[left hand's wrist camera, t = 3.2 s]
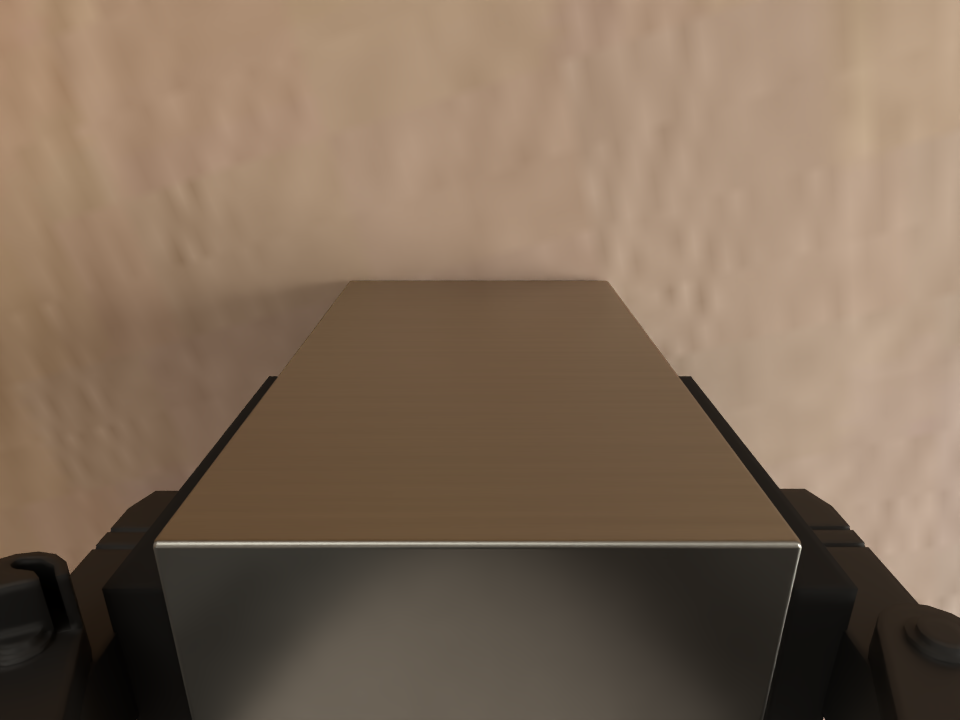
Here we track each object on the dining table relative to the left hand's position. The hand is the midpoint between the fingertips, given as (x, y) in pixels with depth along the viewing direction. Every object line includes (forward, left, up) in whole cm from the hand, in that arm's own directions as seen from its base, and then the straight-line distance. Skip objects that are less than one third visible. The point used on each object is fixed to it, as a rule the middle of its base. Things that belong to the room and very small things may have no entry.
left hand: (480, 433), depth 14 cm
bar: (+10, +3, -1) cm, 10 cm away
